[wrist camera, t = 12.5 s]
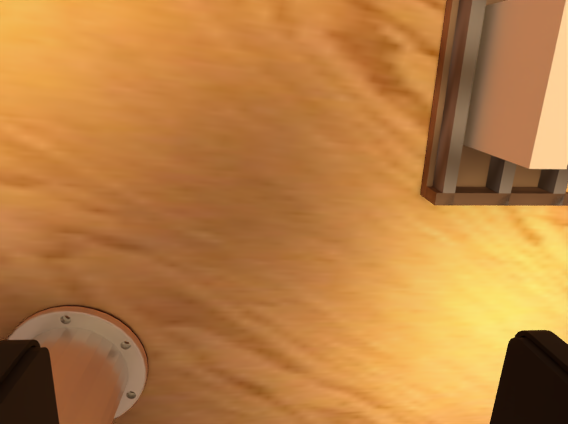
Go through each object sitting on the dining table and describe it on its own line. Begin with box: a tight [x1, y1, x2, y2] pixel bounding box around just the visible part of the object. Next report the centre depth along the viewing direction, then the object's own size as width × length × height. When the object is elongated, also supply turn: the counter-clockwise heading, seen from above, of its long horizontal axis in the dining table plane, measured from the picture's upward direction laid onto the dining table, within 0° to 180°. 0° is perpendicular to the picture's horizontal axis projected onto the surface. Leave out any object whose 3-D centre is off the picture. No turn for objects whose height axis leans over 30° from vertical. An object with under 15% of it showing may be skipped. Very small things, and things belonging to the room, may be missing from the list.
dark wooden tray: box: [420, 0, 568, 205], centre depth 32 cm, size 19×11×3 cm, turn 178°
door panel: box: [463, 0, 568, 169], centre depth 28 cm, size 10×2×9 cm, turn 179°
